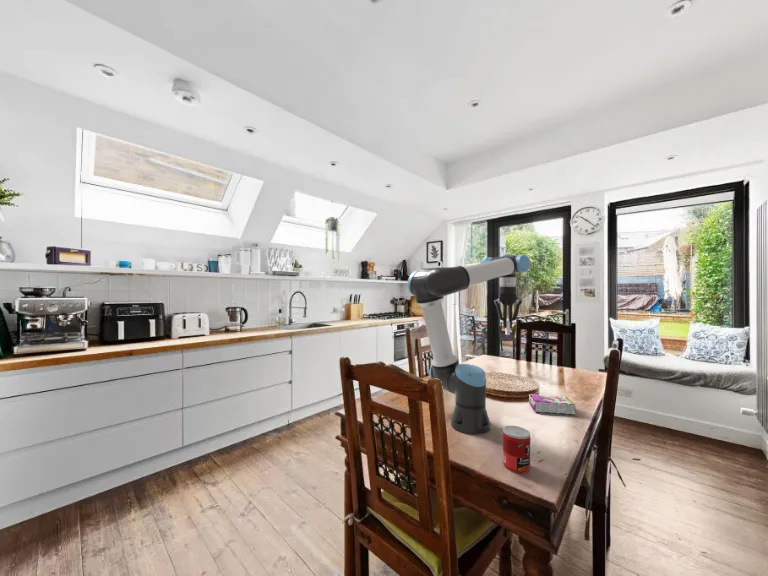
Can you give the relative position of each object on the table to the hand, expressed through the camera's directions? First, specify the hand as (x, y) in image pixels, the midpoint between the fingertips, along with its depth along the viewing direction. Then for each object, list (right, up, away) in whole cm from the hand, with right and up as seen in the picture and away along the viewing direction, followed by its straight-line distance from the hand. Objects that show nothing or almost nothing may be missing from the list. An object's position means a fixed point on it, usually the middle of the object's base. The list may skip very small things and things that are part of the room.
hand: (507, 334), depth 157 cm
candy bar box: (+7, -30, -10) cm, 32 cm away
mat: (+16, -32, -11) cm, 38 cm away
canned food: (-20, -32, -58) cm, 69 cm away
